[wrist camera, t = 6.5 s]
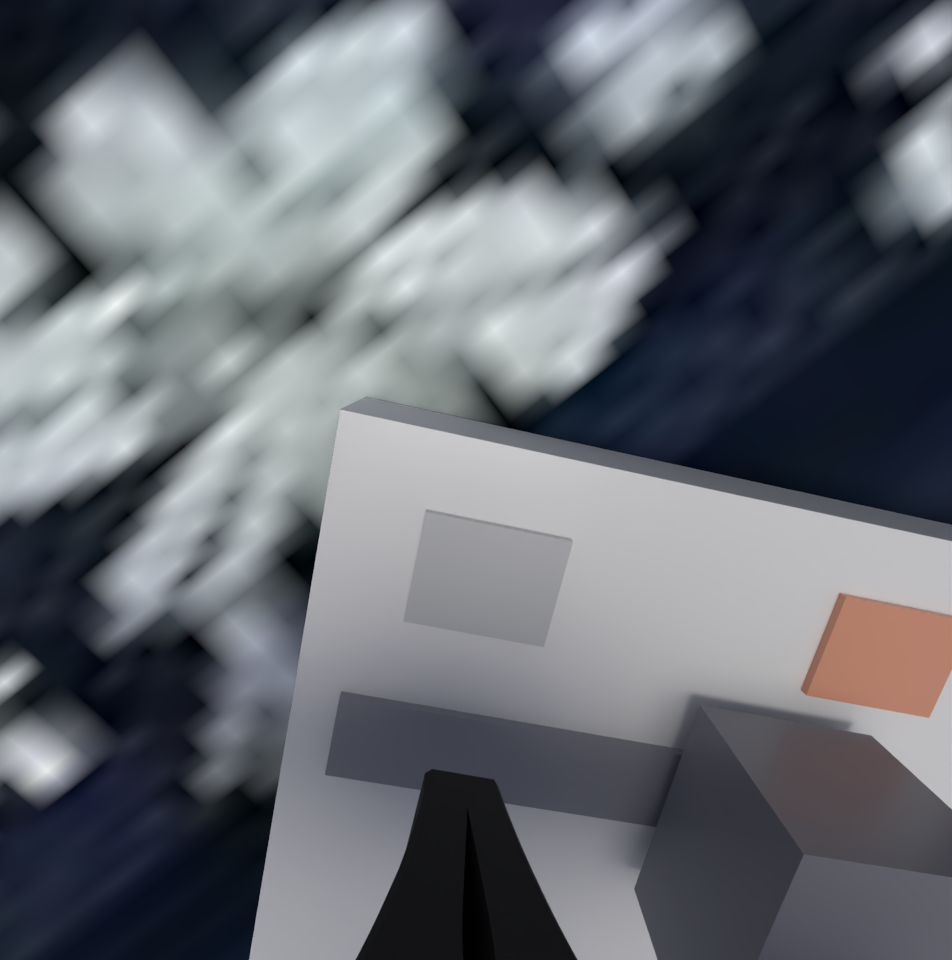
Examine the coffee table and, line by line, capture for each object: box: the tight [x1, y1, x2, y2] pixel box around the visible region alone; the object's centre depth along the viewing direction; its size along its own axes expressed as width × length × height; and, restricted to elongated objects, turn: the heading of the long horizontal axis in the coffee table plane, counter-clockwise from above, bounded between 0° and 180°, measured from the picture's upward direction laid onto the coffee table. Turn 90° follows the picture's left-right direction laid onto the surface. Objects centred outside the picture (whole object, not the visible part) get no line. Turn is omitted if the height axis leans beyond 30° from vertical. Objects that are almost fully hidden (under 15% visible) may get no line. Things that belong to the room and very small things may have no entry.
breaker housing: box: [249, 397, 952, 960], centre depth 14 cm, size 16×14×3 cm
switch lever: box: [634, 705, 952, 960], centre depth 10 cm, size 4×5×4 cm
